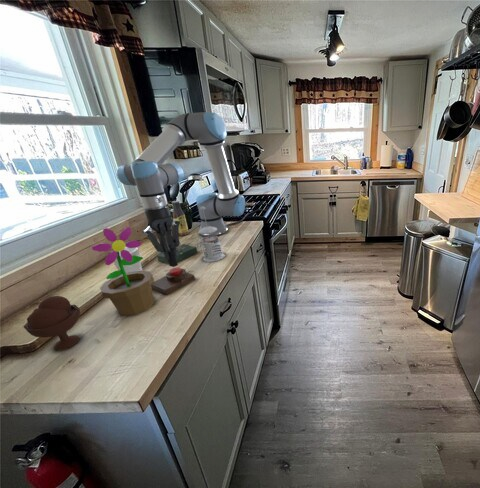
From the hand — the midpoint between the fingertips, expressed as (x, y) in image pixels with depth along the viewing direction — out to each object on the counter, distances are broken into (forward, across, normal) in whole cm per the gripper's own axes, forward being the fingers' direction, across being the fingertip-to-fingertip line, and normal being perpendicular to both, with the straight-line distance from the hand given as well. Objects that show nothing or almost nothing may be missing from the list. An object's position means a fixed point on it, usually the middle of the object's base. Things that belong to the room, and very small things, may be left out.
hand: (173, 265), depth 101 cm
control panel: (+7, +15, +22) cm, 28 cm away
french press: (+8, +21, +5) cm, 23 cm away
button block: (+7, -2, 0) cm, 8 cm away
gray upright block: (+4, +14, +22) cm, 27 cm away
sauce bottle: (+7, +36, +48) cm, 61 cm away
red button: (+4, 0, 0) cm, 4 cm away
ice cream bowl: (+8, -36, -2) cm, 37 cm away
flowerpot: (+8, -17, -2) cm, 19 cm away
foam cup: (+8, -7, +19) cm, 21 cm away
